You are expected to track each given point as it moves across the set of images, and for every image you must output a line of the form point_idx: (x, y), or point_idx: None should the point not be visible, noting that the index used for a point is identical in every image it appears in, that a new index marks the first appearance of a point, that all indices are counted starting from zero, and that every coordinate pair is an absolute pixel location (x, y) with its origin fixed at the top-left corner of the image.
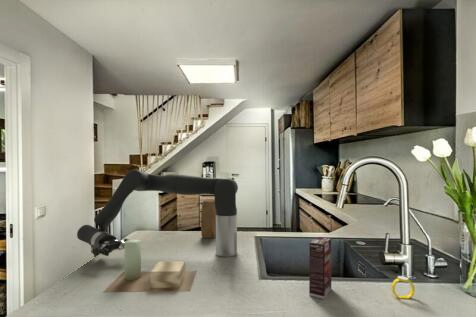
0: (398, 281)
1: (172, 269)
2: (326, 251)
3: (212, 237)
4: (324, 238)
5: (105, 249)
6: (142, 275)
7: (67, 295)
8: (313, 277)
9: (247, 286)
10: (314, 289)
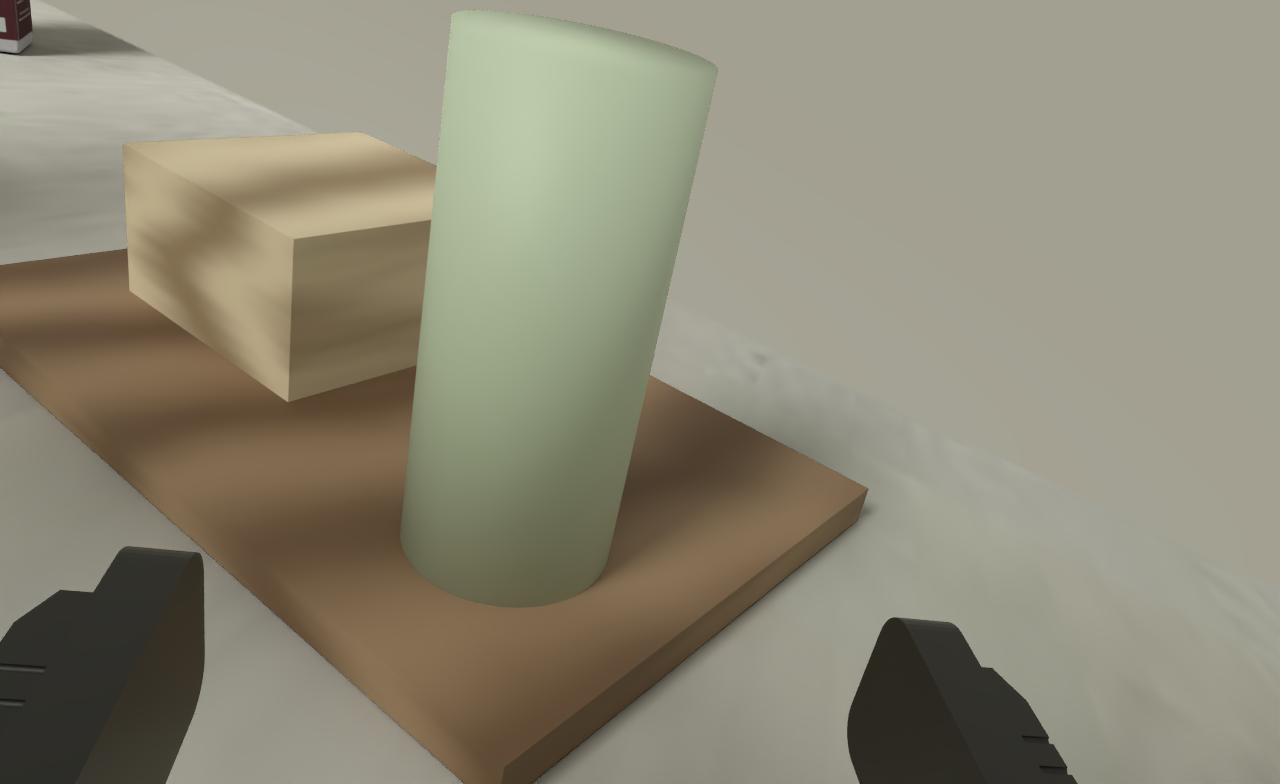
0: None
1: (368, 154)
2: None
3: None
4: None
5: (991, 690)
6: (392, 502)
7: (1221, 733)
8: None
9: (31, 141)
10: (22, 14)
